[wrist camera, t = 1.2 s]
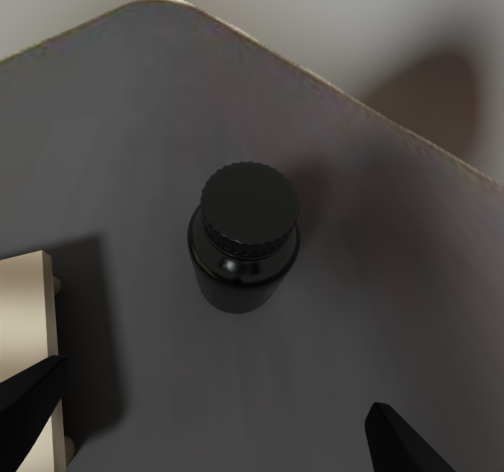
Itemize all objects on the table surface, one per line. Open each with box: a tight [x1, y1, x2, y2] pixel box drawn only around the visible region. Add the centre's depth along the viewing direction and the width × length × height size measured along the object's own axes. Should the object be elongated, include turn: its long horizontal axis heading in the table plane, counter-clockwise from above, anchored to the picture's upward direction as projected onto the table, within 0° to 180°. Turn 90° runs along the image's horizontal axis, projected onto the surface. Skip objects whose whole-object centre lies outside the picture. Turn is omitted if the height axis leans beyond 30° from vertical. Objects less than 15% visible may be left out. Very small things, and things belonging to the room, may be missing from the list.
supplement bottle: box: [187, 161, 300, 314], centre depth 18 cm, size 7×7×12 cm
